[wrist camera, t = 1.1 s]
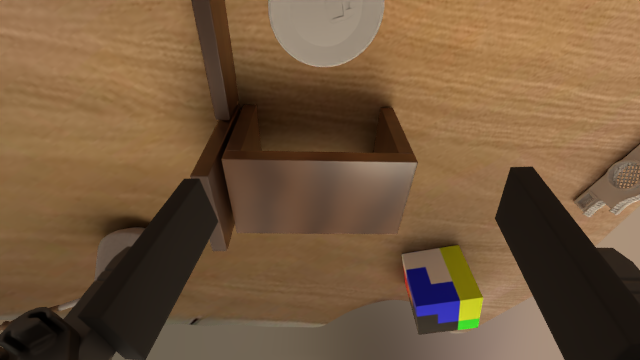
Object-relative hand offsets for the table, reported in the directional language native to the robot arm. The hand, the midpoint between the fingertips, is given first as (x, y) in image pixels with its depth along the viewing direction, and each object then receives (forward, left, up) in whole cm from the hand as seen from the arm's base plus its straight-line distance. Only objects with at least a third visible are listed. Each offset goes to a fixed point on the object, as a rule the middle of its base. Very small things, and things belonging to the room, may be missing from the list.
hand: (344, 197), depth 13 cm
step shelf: (-2, -3, -24) cm, 24 cm away
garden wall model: (+42, -17, -24) cm, 51 cm away
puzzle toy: (+21, -39, -24) cm, 51 cm away
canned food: (-1, +5, -24) cm, 25 cm away
